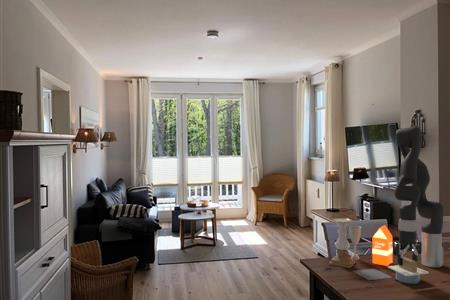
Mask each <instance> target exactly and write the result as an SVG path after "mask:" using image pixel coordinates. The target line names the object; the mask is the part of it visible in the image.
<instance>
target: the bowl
mask: <svg viewBox="0 0 450 300" xmlns="http://www.w3.org/2000/svg"><path fill="white" fill-rule="evenodd" d="M420 277H421V275H413V276H405V275H403V274H401V273H398V272H396V271H395V279H396V280H397V281H398V282H400V283H405V284H415V285H416V284H419V283H420V282H421V278H420Z"/></svg>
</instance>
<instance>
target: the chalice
mask: <svg viewBox="0 0 450 300" xmlns="http://www.w3.org/2000/svg"><path fill="white" fill-rule="evenodd" d="M348 228H349V229H348V230H349V234H348V235H349V239H350V240H351V242H352V244H353V254H351V257H352V258H354V260H355V261H359V260H361V259H360V256H359V255H358V254H357V252H358V251H357V244H358V243H359V242H360V239H361V236H362V235H361V233H362V230H361V229H362V226H361V225H354V224H353V225H348Z"/></svg>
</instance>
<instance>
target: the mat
mask: <svg viewBox="0 0 450 300" xmlns="http://www.w3.org/2000/svg"><path fill="white" fill-rule="evenodd" d="M352 272H353V273H355V274H356V275H358V276H360V277H362V278H364V280H368V281H375V280H382V279H390V278H393V276H390V275H389V274H387V273H385V272H382V271H380V270H378V269H377V268H365V269H359V270H352Z"/></svg>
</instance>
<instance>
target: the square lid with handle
mask: <svg viewBox="0 0 450 300" xmlns="http://www.w3.org/2000/svg"><path fill="white" fill-rule="evenodd" d="M402 258H403V266H400V265H399V264H397V265H388V266H387V269H390V270H392V271H393V272H395V273H396V272H398V273H401V274H403V275H405V276H413V275H420V276H421V275H429V273H430V272H429V271H426V270H424V269H421V268H419V267H418V262H416V261H414V260H412V258H408V257H406V256H403V257H402Z"/></svg>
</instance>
